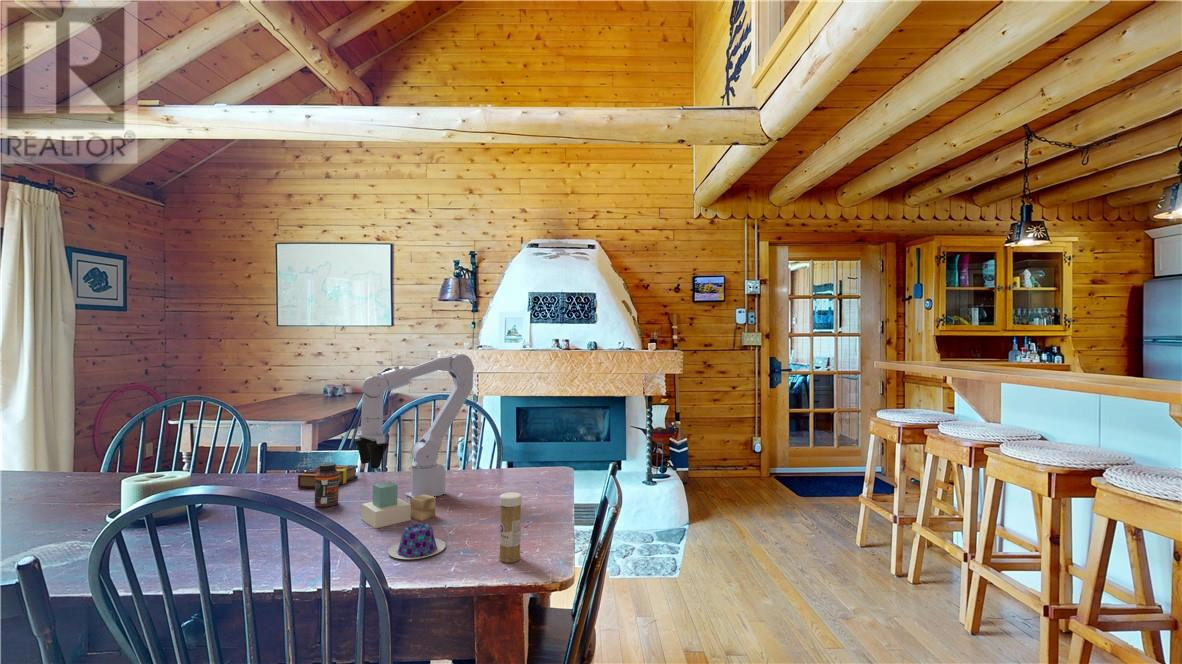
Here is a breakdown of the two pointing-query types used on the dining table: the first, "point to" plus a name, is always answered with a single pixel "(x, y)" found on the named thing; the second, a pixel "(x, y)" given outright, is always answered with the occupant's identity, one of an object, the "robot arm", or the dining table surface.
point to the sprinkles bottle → (510, 527)
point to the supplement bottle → (327, 485)
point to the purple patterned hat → (416, 543)
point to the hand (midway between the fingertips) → (370, 465)
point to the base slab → (386, 514)
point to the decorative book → (310, 476)
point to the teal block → (385, 494)
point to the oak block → (422, 507)
